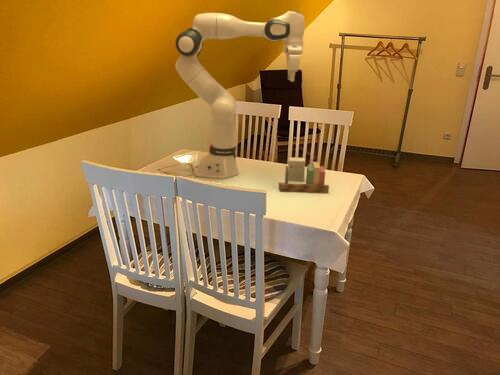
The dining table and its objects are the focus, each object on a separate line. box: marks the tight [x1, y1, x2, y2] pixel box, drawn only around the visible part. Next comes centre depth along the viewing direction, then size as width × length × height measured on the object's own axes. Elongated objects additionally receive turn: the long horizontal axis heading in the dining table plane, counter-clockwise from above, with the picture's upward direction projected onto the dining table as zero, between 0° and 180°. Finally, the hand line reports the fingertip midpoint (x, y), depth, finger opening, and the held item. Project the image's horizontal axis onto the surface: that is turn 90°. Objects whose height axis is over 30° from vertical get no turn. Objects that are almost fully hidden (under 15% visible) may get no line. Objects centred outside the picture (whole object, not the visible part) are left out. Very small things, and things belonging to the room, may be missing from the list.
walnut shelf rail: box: [279, 182, 330, 194], centre depth 192 cm, size 22×2×4 cm, turn 87°
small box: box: [287, 156, 306, 182], centre depth 206 cm, size 8×6×10 cm
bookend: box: [278, 165, 289, 191], centre depth 196 cm, size 4×8×9 cm, turn 177°
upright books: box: [305, 161, 326, 185], centre depth 195 cm, size 8×8×12 cm
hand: (290, 80), depth 197 cm, fingers open, 8 cm apart
